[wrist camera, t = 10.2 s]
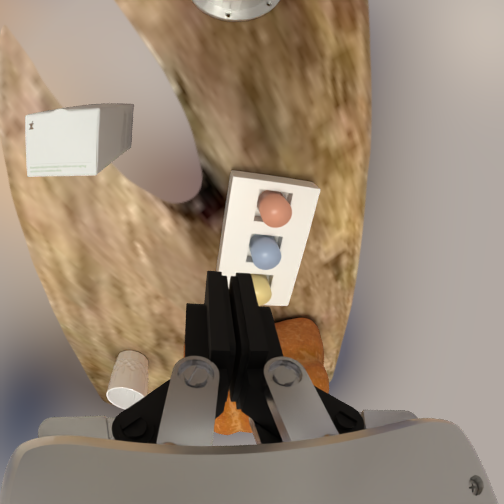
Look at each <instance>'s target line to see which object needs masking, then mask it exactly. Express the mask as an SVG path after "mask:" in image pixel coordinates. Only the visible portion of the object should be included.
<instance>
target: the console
mask: <svg viewBox="0 0 504 504" xmlns="http://www.w3.org/2000/svg"><path fill="white" fill-rule="evenodd" d="M266 190H272V191H279V192H281V193H282V195H283V196H284V197H285V199H286V200H287V202H288V203H289V204H290V206H291V208H292V216H291V219H290V220H289V222H288V223H287V224H285V225H284V226H282V227H278V228H273V227H269V226H268V225H266V224H265V223H264V221H263V220H262V217H261V215H260V213H259V210H258V208H257V201H258V197H259V195H260V194H261V193H262V192H264V191H266ZM319 193H320V188H318V187H317V186H316V185H315V184H314V183H313V182H310V181H304V180H298V179H291V178H285V177H279V176H272V175H265V174H258V173H250V172H243V171H235V170H231V174H230V180H229V186H228V193H227V199H226V206H225V212H224V219H223V226H222V233H221V240H220V247H219V254H218V261H217V269H216V271H218V272H222V275H223V276H227V280H228V288H229V284H230V277H231V276H236V273H250V274H264V275H266V276H267V279H268V283H269V286H270V289H271V292H272V296H271V299H270V300H269V301H268V302H267V303H266V304H264V305H276V306H288V304H289V300H290V297H291V294H292V290H293V287H294V284H295V280H296V277H297V273H298V270H299V266H300V263H301V260H302V256H303V252H304V249H305V245H306V242H307V238H308V234H309V231H310V227H311V223H312V220H313V216H314V212H315V208H316V204H317V201H318V197H319ZM255 234H261V235H271V236H273V237H274V238H275V240H276V243H277V245H278V247H279V249H280V252H281V260H280V262H279V264H278V265H277V266H276V267H274V268H272V269H269V270H262V269H259V268H257V267H256V266H255V265H254V263H253V260H252V256H251V252H250V249H249V243H250V239H251V237H252V236H253V235H255Z"/></svg>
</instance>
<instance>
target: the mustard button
mask: <svg viewBox="0 0 504 504" xmlns="http://www.w3.org/2000/svg"><path fill="white" fill-rule="evenodd" d="M251 276H252V280H253V284H254V289H255V293H256V297H257V302H258V306H261V305H264V304H266V303H267V302H268V301H269V300H270V299H271V296H272V292H271V289H270V286H269V283H268V279H267V276H266V275H264V274H251Z"/></svg>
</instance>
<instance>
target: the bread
mask: <svg viewBox="0 0 504 504" xmlns="http://www.w3.org/2000/svg"><path fill="white" fill-rule="evenodd" d="M275 327H276V331H277V334H278V338H279V342H280V345H281V349H282V352H283V356H284V357H289V358H292V359H294V360H297V361H298V362H299V363H301V364H302V365H303V367H304V368H305V370H306V371H307V373H308V375H309V377H310V379H311V381H312V383H313V385H314V386H316V387H317V388H319V389H321V390H323V391H324V392H326V393H328V392H329V379H328V375H327V373H326V370H325V368H324V350H323V343H322V340H321V336H320V332H319V330H318V327H317V326H316V324H315V323H314V322H313V321H311V320H310V319H307V318H295V319H289V320H284V321H281V322H278V323H275ZM184 358H185V345H184ZM239 431H242V432H249V433H253V432H252V430H251V427H250V424H249V417H248V416H247V415H246V414H244V413H243V412H242V411H241V409H237V408H236V402H231V400H230V393H229V392H228V398H227V402H225V407H224V412H223V413H222V414H221V415H220V416H218V417H217V418H216V419H215V424H214V432H216V433H219V434H224V435H230V434H233V433H236V432H239Z"/></svg>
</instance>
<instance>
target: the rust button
mask: <svg viewBox="0 0 504 504" xmlns="http://www.w3.org/2000/svg"><path fill="white" fill-rule="evenodd" d="M257 208H258V210H259V213H260V215H261V217H262V220H263V221H264V223H265V224H266V225H268V226H269V227H273V228H278V227H282V226H284V225H285V224H287V223H288V222H289V220H290V219H291V216H292V208H291V206H290V204H289V203H288V202H287V200H286V199H285V197H284V196H283V195H282V193H281V192H279V191H272V190H266V191H264V192H262V193H261V194H260V195H259V197H258V201H257Z"/></svg>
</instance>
